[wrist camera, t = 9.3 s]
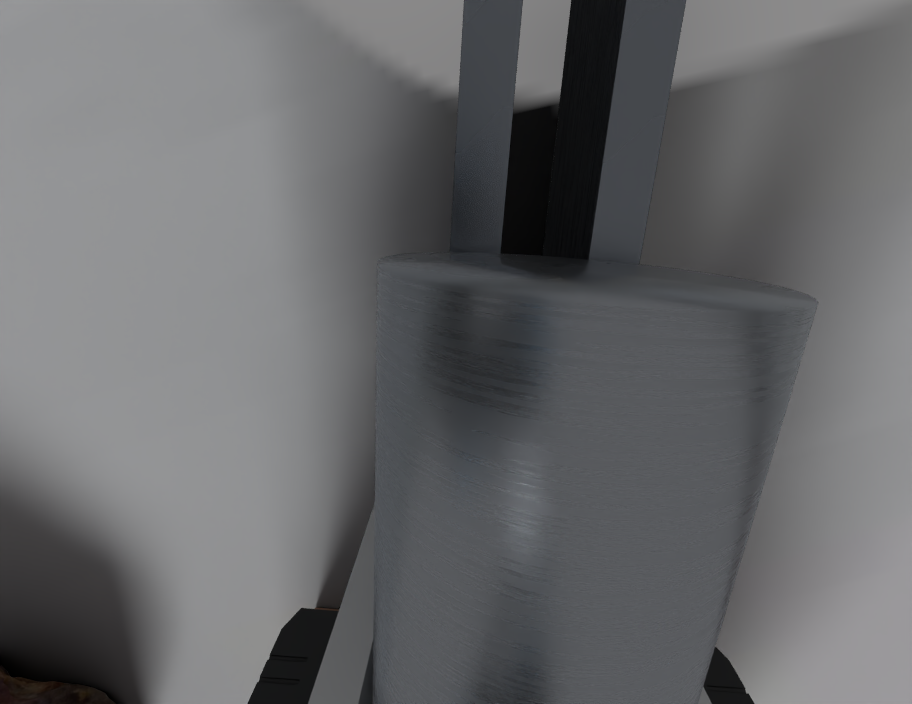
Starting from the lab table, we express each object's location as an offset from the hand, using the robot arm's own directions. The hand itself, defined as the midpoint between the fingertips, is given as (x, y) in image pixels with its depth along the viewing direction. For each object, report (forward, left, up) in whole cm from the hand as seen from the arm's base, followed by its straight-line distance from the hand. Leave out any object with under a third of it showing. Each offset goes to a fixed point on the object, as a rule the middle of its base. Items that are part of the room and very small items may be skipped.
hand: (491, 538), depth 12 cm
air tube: (+4, 0, +3) cm, 5 cm away
